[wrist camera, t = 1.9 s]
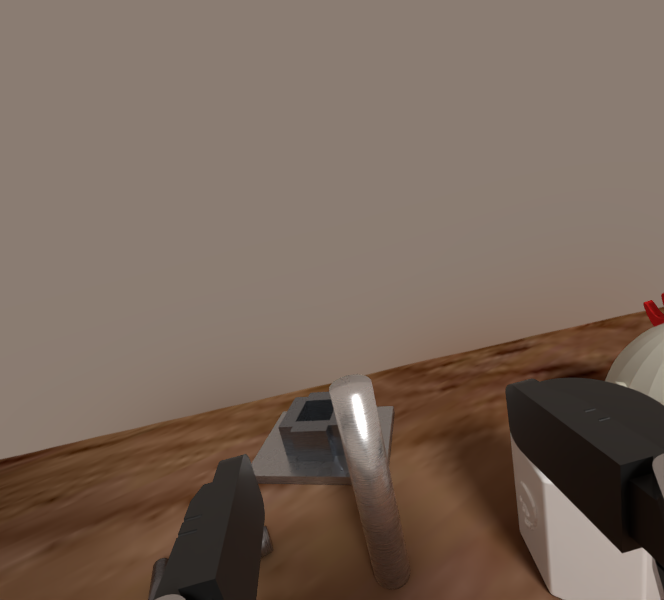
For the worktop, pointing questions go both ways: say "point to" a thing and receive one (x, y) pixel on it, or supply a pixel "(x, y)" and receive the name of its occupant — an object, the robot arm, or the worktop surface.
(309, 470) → the chuck block
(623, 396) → the jar
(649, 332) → the kitchen timer
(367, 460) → the steel rod
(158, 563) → the chuck key
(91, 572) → the worktop surface
